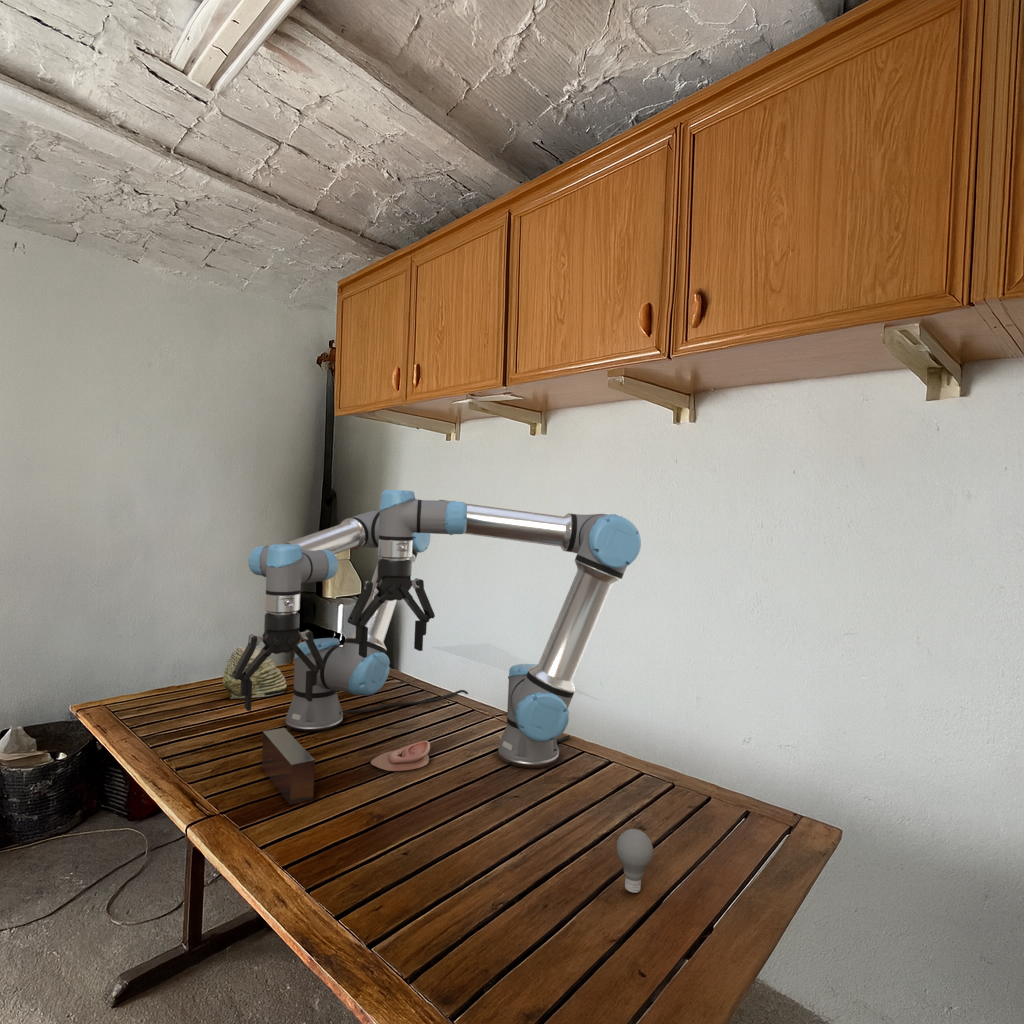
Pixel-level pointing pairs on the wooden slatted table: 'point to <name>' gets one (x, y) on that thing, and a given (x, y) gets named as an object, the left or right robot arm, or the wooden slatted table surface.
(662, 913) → the wooden slatted table surface
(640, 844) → the light bulb
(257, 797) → the wooden slatted table surface
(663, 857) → the wooden slatted table surface
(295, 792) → the bar
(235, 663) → the fossil
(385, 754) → the anatomical model
